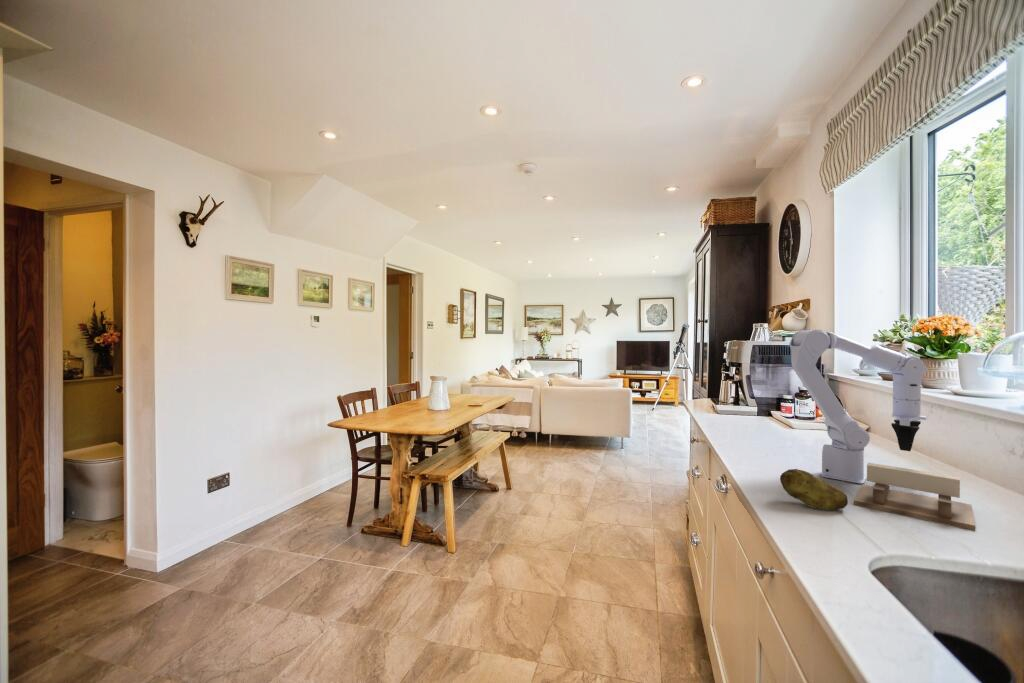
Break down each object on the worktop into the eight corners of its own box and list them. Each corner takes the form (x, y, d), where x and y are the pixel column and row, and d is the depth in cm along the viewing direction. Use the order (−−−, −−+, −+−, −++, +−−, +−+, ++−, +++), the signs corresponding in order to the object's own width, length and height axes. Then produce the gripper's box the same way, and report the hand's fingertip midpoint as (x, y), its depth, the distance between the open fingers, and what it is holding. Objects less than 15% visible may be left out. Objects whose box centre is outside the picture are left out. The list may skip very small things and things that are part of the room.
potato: (840, 519, 95) (840, 483, 95) (775, 502, 105) (776, 469, 105) (850, 509, 101) (850, 475, 101) (788, 494, 111) (788, 463, 111)
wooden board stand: (853, 504, 104) (853, 485, 104) (862, 487, 115) (862, 471, 115) (975, 530, 90) (975, 508, 90) (971, 508, 101) (971, 489, 101)
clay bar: (866, 481, 107) (867, 465, 107) (868, 478, 109) (868, 462, 109) (959, 498, 96) (959, 480, 96) (959, 494, 98) (959, 477, 98)
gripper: (925, 403, 112) (925, 455, 112) (926, 398, 122) (926, 445, 122) (889, 400, 117) (889, 450, 117) (893, 395, 127) (893, 441, 127)
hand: (906, 447), depth 120 cm, fingers open, 7 cm apart
